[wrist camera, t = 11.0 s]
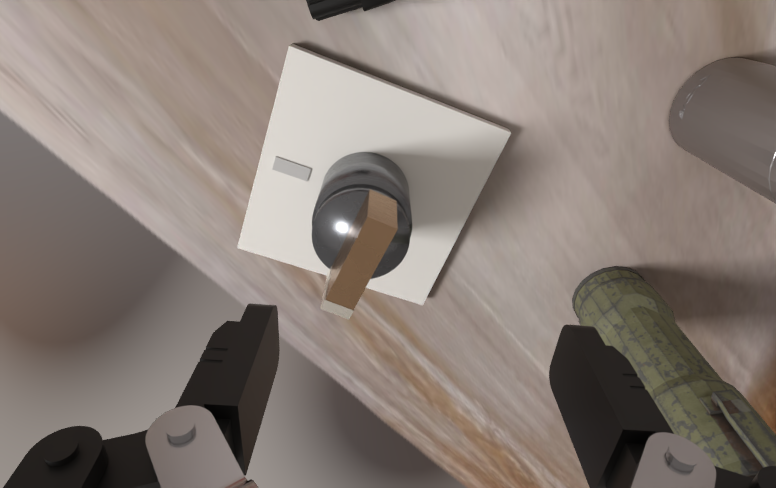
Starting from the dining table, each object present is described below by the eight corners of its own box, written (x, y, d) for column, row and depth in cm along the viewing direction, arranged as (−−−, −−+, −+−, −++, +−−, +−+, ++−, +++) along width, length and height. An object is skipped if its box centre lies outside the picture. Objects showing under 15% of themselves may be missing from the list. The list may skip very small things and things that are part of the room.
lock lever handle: (337, 165, 40) (328, 200, 33) (427, 204, 41) (434, 245, 35) (299, 250, 44) (285, 295, 37) (382, 283, 45) (381, 331, 39)
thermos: (572, 340, 61) (760, 711, 30) (569, 263, 55) (795, 624, 24) (644, 328, 60) (913, 698, 29) (648, 248, 54) (987, 605, 23)
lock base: (507, 128, 47) (530, 158, 40) (421, 297, 57) (426, 346, 50) (292, 43, 43) (271, 58, 36) (240, 241, 53) (216, 285, 46)
